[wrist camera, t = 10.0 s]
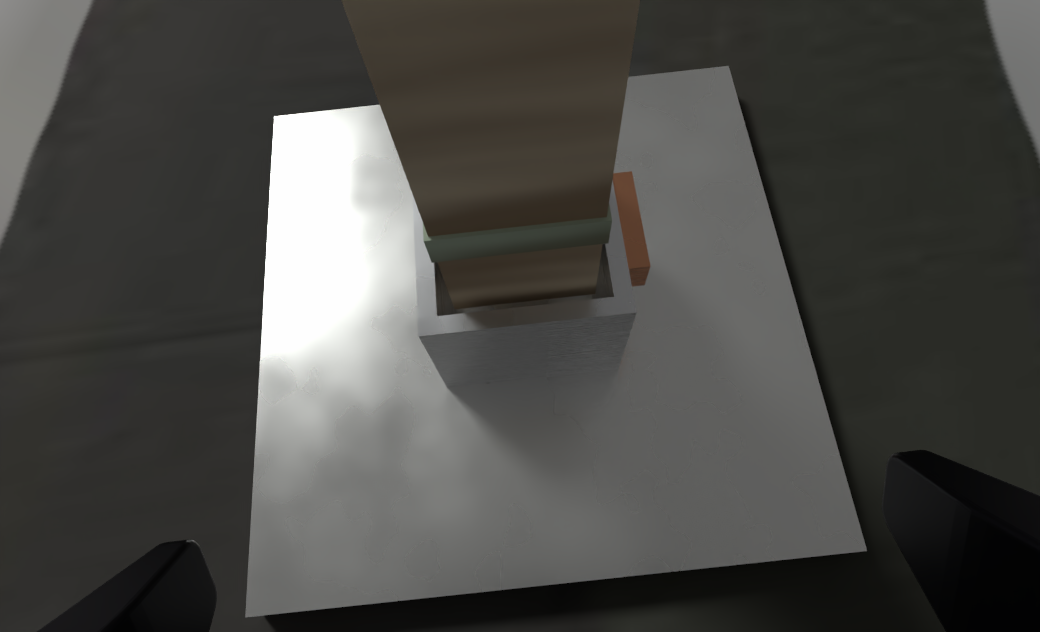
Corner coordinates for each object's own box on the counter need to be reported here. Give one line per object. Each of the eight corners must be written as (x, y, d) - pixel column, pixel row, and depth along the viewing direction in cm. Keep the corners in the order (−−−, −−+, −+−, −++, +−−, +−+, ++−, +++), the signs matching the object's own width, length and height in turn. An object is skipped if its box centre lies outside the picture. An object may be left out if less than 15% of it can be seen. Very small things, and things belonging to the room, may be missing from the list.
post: (598, 296, 17) (660, -66, 7) (451, 313, 17) (320, -27, 8) (579, 172, 19) (609, -264, 9) (443, 187, 19) (325, -231, 9)
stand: (849, 552, 20) (967, 543, 14) (262, 615, 20) (148, 630, 14) (721, 87, 26) (766, -44, 21) (285, 135, 26) (215, 18, 21)
